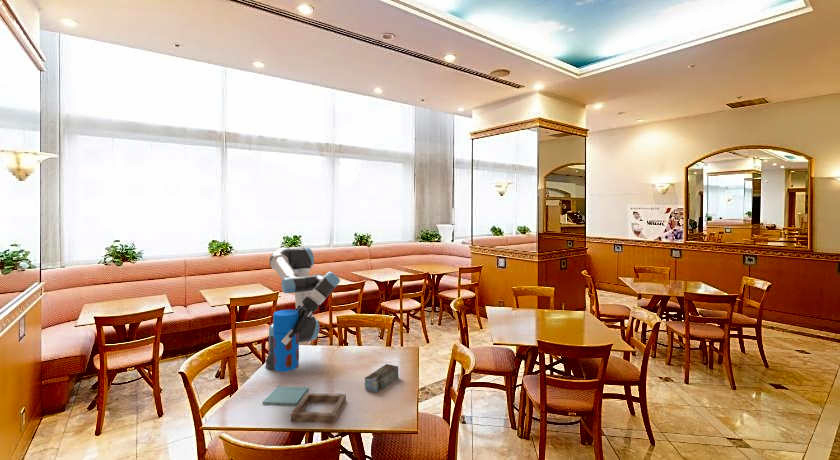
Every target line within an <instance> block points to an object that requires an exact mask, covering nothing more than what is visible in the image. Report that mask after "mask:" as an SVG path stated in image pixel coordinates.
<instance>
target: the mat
mask: <svg viewBox="0 0 840 460" xmlns="http://www.w3.org/2000/svg"><path fill="white" fill-rule="evenodd" d="M308 391H309V387H307V386H281V385H279V386H278V385H277V386H276V388H275V387H274V390H273V391H271V392H270V394H269V395H268V396H267V397H266V398H265V399H264V400H263V401H262V405H271V404H280V405H279V406H297V405H298V404H299V402H300V401H301V400H302V398H303V397H304V396H305V394H306V393H308Z"/></svg>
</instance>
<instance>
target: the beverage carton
mask: <svg viewBox="0 0 840 460" xmlns="http://www.w3.org/2000/svg"><path fill="white" fill-rule="evenodd" d="M397 379H399V366H398V365H393V364H388V363H386V364H384V365H383V366H381V367H380V368H378V369H377V370H375V371H374V372H372V373H371V374H369V375H367V376H365V377H364V390H366V391H371V392H374V393H376V394H377V393H379V392H381V391H382V390H384V389H385V388H386V387H388V386H389V385H390V384H391V383H394V382H395V380H397Z"/></svg>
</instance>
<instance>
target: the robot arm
mask: <svg viewBox="0 0 840 460" xmlns="http://www.w3.org/2000/svg"><path fill="white" fill-rule="evenodd" d="M314 263H315V256H314V253H313V251H312V249H311V248H310V247H308V246H295V247H291V246H290V247H280V248H278V249H276V250H274V251H273V253H272V254H271V255H270V257H269V265H270V267H271V269H272V270H274V271H276V273H277V274H278V276H279V277H280V279H281V283H280V284H281V285H280V286H281V291H282V292H283V294H294V299H295V301H294V303H295V309H294V310H297V311H298V315H299V316H298V317H299V318H298V320H297V322H296V324H295V326H294V328H292V329H291V330H290V332H289V333H288V334H287V335H286V336H285V337H284V338H283V340H282V341H281V342H282V343H284V344H285V345H287V344H288V342H289V341H290V340H291V339H292V338H293V337H294V335H295V334H296V333H298V332H299V344H301V343H306V342H311V341H315V340H316V339H317V338H318V337H319V336H318V335H319V333H320V323H319V319H318V318H316V316H315V315H314V314H313V313H315V312H316V311H317V310H318V308H319V306H321V305H322V303H324V302H325V300H326V299H327V298H328V297H329V296H330V294H331V293H332V292H333V291H334V290H335V288H337V286H338V285H339V283H340V282H341V279H340V278H339V276H337V275H336V274H335V273H334V272H332V271H328V272H327V273H326V274H325V275H324V274H321V273H317V274H313V275H310V271H311V270H312V267H313V266H314ZM265 368H266V369H267V370H268V369H269V370H271V371H276V370H275V369H274V345H273V323H272V324H270V325H269V327H268V354H267V356H266V360H265Z"/></svg>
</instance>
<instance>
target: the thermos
mask: <svg viewBox="0 0 840 460" xmlns="http://www.w3.org/2000/svg"><path fill="white" fill-rule="evenodd" d="M272 315H273V316H272V322H273V323H272V324H273V345H274V369H275V370H274V371H275V372H281V373H282V372H283V373H284V372H290V371H291V372H292V371H293V370H296V369H297V368H299V366H300V365H299V362H300V343H299V332H298V333H296V334H295V335H294V337H293V338H292V339H291V340H290V341H289V342H288V344H287V345H285V344H284V343H282V342H281V341H282V340H283V338H284V337H285V336H286V335H287V334H288V333H289V332H290V330H291V329H292V328H294V326H295V324H296V322H297V320H298V318H299V317H298V316H299V315H298V311H297V310H295V309H281V310H277V311H274V313H273V314H272Z"/></svg>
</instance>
